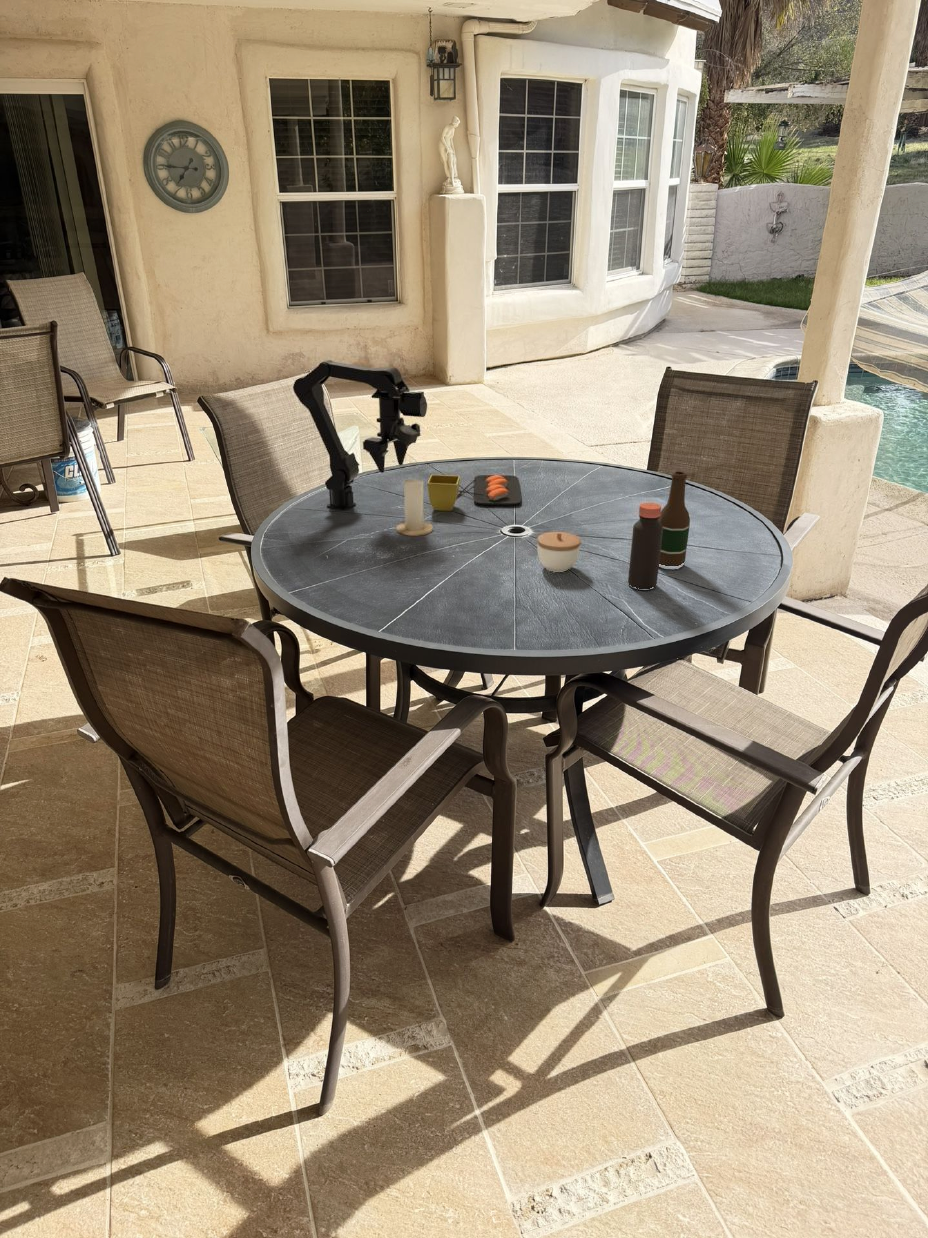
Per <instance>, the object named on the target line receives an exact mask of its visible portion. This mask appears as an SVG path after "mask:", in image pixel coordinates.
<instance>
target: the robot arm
mask: <svg viewBox="0 0 928 1238" xmlns="http://www.w3.org/2000/svg"><path fill="white" fill-rule="evenodd" d="M330 378H333V379H335V378H336V379H341V380H345V381H352V382H357V383H363V384H365V385H368V386H370V387H371V388H373V389H376V390H375V392H374V393H373V394H372V395H371V398H372V399H378V408H379V409H378V413H379V417H378V418H376V423H379V432H377V433H376V437H375V436H372V437H369V438H366V439H364V440H363V442H362V448H363V449H362V450H364V451H366V452H367V453H368V454H369V455H370V457H371V458H372V460H373V462H374V464H375V465H376V468H377V469H378V471H379V473H380V474H384V473H385V465H386V464H385V463H386V462H385V459H386V455H387V454H388V452H389V450H388V448H389V444H390V443H391V444H392V443H393V446H394V447H393V448H394V451H395V456H396V461H397V463H398V465H399V466H403V465H404V462H405V461H404V460H405V458H406V454H407V450H408V448H409V446H410V445H412V444H415V443H416V442H417V439H418V438H419V437H421V436H422V435H421V427H420V424H418V423H416V422H415V423H412V424H408V425H407V424H405V419H404V417H415V418H417V417H418V418H425V417H426V414H427V411H428V402H427V399H426V396H425V393H424V391H411V390H410V389H409V387H408V385H407V384H406V383H405V381H404V380H403V378H402V373H401V372H400V370H399V369H398V368H396V367H394V366H381V367H366V366H360V365H354V364H350V363H349V364H348V363H343V362H337V361H333V360H332V359H331V360H330V359H327V360H324V361H321V362H320V363H319V364H318V365H317V367H315V368H314V369H312V370H311V371H310V372H309V373H307V374H306V375H303V376H301V377H298V378H297V379H296V380H295V381H294V382H293V386H292V389H293V392H294V395H295V396H296V397H297V399H298V401H299V403H300V404H302V406H304V407H305V408H306V409H307V410H308V411H309V413H310V415H311V418H312V421H313V423H314V424H315V427H316V429H317V432H318V434H319V436H320V438H321V441H322V443H323V445H324V447H325V449H326V452H327V453H328V457H329V470H330V473H331V476H330V477H329V478H328V479H326V481H325V482H324V484H325V487H326V489H327V490H328V493H329V503H328V504H326V507H327V508H330V509H335V510H340V511H346V510H348V509H349V507H350V508H352V507H354V506H356V505H357V503H356V502H354V491H353V486H352V485H351V484H353V483H354V481H355V479H356V478H357V477H358V476H359V473H360V468H359V466H360V463H359V462H358V461H357V459H356V455H355V453H354V452H352V453H349V452H348V451H347V450H345V448H344V446H343V443H342V441H341V439H340V436H339V435H338V431H337V429H336V427H335V425H334V423H333V420H332V419H331V416H330V413H329V412H328V410H327V407H326V405H325V394H324V393H325V392H324V388H323V385H324V383H326V382H327V381H328V380H329V379H330ZM401 414H402V416H404V417H401ZM353 505H354V506H353Z"/></svg>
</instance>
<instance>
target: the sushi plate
mask: <svg viewBox="0 0 928 1238" xmlns="http://www.w3.org/2000/svg"><path fill="white" fill-rule="evenodd" d="M472 484H473V492H471V491H466V490H467V488H469V487H470V486H471V485H472ZM426 486H427V487H428V484H427V485H426ZM463 493H464V494H471V495H473V502H474V503H475V504H478V505H497V506H498V505H503V506H504V505H506V506H507V505H518V504H520V503H521V502H522V495H521V487H520V478H518V476H515V475H510V474H508V475H506V474H504V475H502V474H481V475H480V474H479V475H475V477H474V478H473V479H472V481H471V482H470V483H469V484H467V486H466V487H464V489H462V490H460V489H459V490H458V495H457V498H456V500H457V499H458V498H459V497H460V496H461V495H462V494H463Z"/></svg>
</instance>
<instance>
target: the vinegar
mask: <svg viewBox="0 0 928 1238" xmlns="http://www.w3.org/2000/svg"><path fill="white" fill-rule="evenodd" d="M661 510H662V505H660V504H658V503H656V502H655V503H654V502H643V503H640V504H639V509H638V517H639V519H638V520H637V521H636V522H635V523H634V524H633V527H632V536H631V546H630V547H631V549H630V556H629V568H628V578H627V584H628V583H629V585H631V586H632V587H636V588H637V589H638V588H639V589H650V588H652V587H655V586H656V584H657V585H658V578H659V577H658V575H659V569H660V568H659V560H660V551H661V542H662V534H663V527H662V525H661V524H660V523H659V521H658V519H659V518H660V514H661ZM629 585H628V586H629ZM656 587H657V586H656ZM656 587H655V588H656Z"/></svg>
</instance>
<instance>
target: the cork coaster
mask: <svg viewBox="0 0 928 1238" xmlns="http://www.w3.org/2000/svg"><path fill="white" fill-rule="evenodd" d="M433 529H434V527H433V525H432V524H431V523H429V522H424V528H423V529H421V530H408V529H406V528H405V522H402V523H400V524H398V525H397V526H396V531H397V533H399V534H401V535H405V536H411V537H412V536H413V537H415V536H416V537H417V536H425V535H428V534H430V533H432V532H433Z"/></svg>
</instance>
